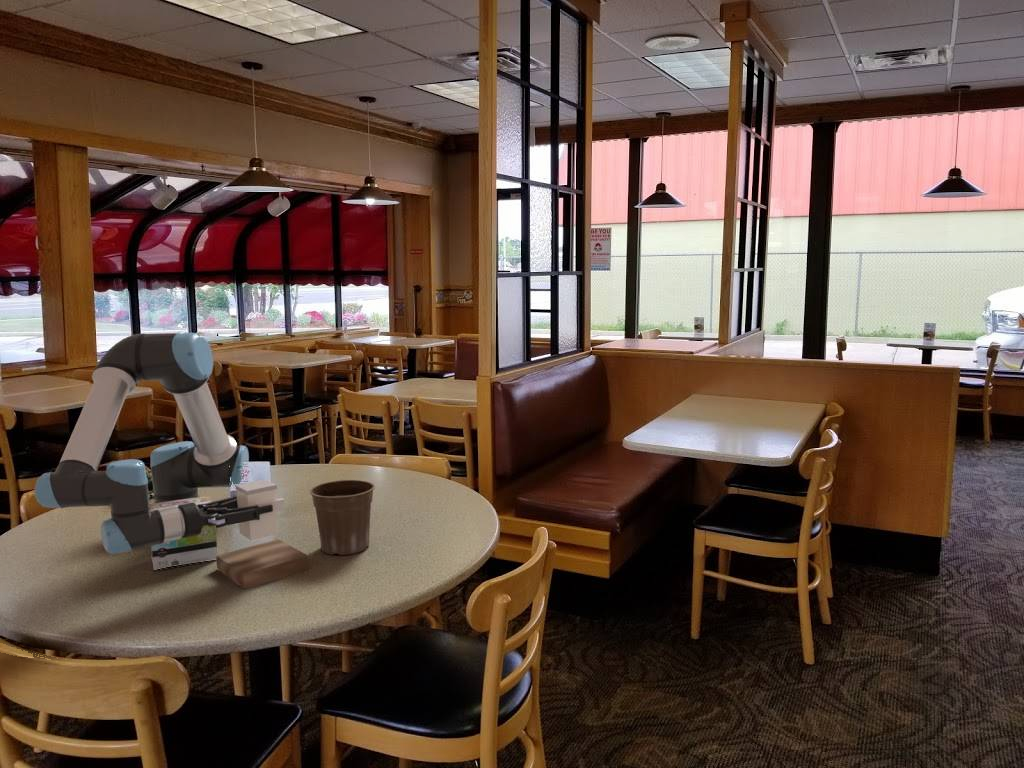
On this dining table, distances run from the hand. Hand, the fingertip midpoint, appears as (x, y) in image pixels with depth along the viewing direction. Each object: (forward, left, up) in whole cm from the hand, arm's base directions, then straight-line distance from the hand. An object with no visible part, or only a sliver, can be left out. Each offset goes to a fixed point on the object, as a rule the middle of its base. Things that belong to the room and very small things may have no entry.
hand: (277, 500), depth 187 cm
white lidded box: (0, -5, -7) cm, 9 cm away
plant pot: (+1, +17, -16) cm, 24 cm away
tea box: (-20, -17, -17) cm, 31 cm away
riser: (0, -5, -17) cm, 17 cm away
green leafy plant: (-83, -9, -17) cm, 85 cm away
